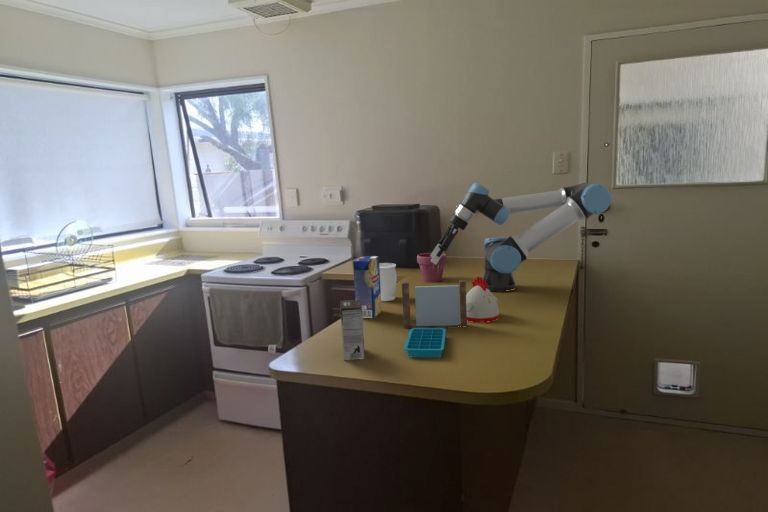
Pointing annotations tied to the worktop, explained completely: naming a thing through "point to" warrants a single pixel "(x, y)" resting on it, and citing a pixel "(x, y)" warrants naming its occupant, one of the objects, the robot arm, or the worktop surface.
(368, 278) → the blue cardboard box
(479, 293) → the kitchen timer
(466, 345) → the worktop surface
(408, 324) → the door frame
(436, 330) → the ice cube tray
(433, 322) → the door
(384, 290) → the jar
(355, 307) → the coffee box
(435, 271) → the plant pot
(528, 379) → the worktop surface
